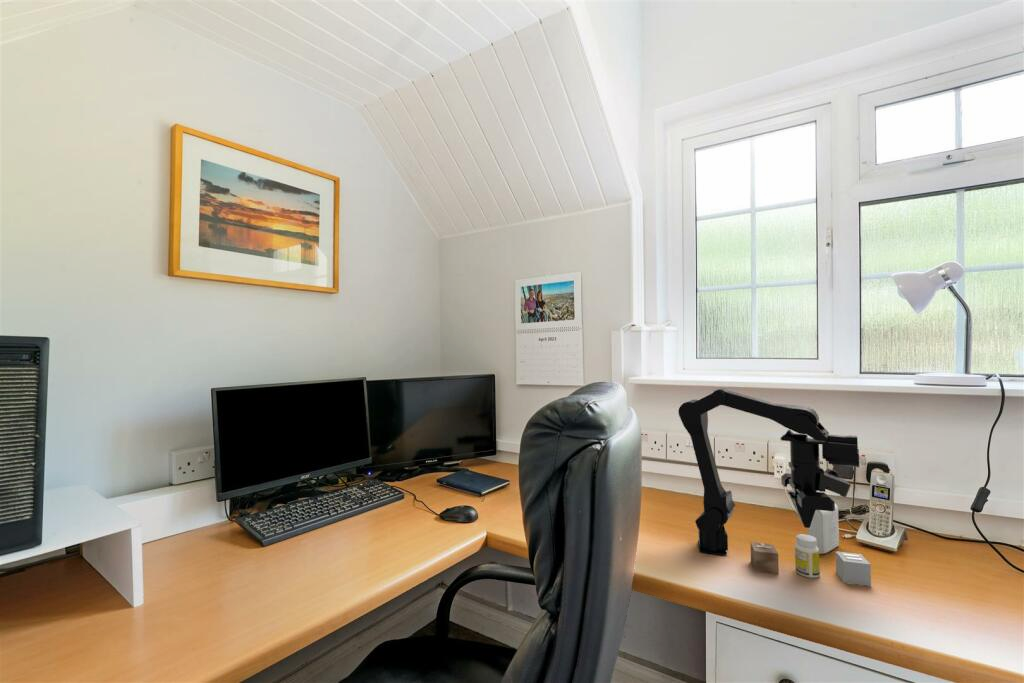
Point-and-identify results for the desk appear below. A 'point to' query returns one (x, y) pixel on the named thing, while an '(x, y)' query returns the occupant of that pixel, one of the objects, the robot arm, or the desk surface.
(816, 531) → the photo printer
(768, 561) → the walnut block
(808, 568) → the supplement bottle
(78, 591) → the desk surface
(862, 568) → the grey block
